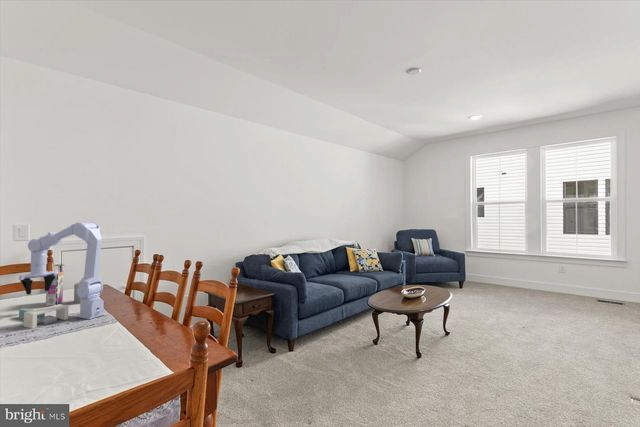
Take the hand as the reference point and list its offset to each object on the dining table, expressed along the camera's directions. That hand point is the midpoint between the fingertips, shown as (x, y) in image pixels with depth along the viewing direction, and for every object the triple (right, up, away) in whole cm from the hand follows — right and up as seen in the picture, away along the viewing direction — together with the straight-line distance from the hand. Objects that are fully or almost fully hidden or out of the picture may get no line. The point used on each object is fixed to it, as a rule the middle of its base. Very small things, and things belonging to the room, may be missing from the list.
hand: (38, 292), depth 160 cm
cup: (+6, -11, +23) cm, 26 cm away
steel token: (+14, -11, -12) cm, 22 cm away
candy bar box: (-6, -10, +17) cm, 21 cm away
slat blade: (+4, -10, -8) cm, 14 cm away
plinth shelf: (+15, -10, -13) cm, 22 cm away
